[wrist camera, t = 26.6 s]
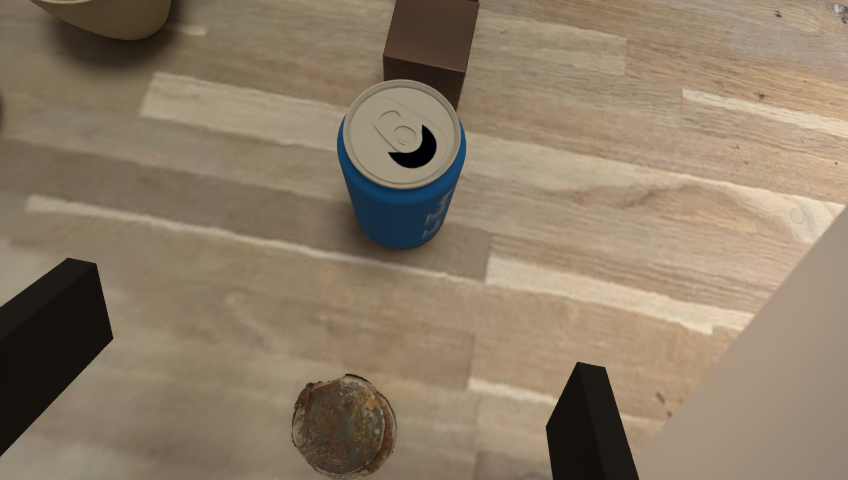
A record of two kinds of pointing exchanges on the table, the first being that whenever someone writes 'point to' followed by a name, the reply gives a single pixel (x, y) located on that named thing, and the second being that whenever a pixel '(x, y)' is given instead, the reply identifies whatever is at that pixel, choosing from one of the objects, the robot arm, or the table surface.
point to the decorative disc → (343, 427)
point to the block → (431, 44)
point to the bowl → (112, 16)
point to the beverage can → (401, 160)
